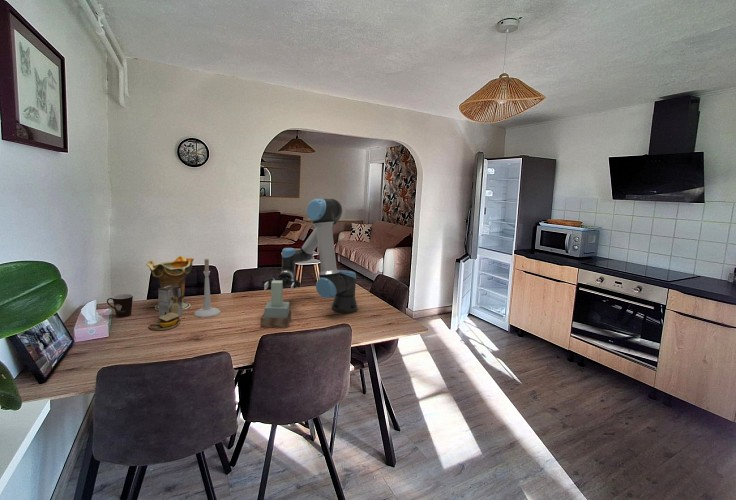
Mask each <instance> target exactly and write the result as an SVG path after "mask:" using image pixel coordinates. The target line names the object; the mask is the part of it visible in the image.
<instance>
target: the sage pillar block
mask: <svg viewBox="0 0 736 500" xmlns="http://www.w3.org/2000/svg"><path fill="white" fill-rule="evenodd" d="M283 288H284V286H283V281H281V280H273V281H272V282H271V285H270V293H271V294H270V296H271V297H270V301H271V306H282V303H283V302H284V299H283V297H284V296H283V293H284V292H283V290H284V289H283Z"/></svg>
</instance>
